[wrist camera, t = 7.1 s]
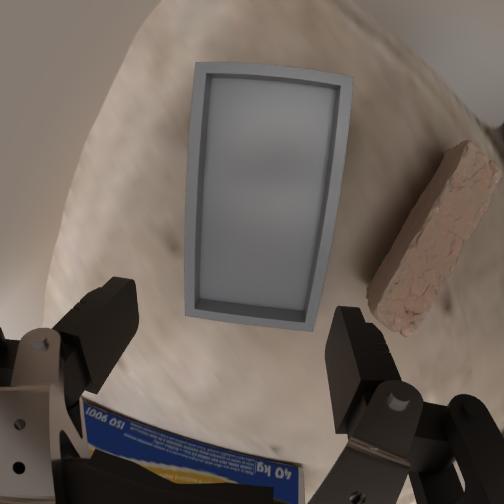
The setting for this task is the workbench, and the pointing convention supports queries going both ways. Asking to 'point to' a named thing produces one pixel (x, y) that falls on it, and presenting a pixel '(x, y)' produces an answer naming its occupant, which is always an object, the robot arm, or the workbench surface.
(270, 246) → the tray
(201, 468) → the construction material bag
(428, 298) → the brick
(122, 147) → the workbench surface
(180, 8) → the workbench surface
